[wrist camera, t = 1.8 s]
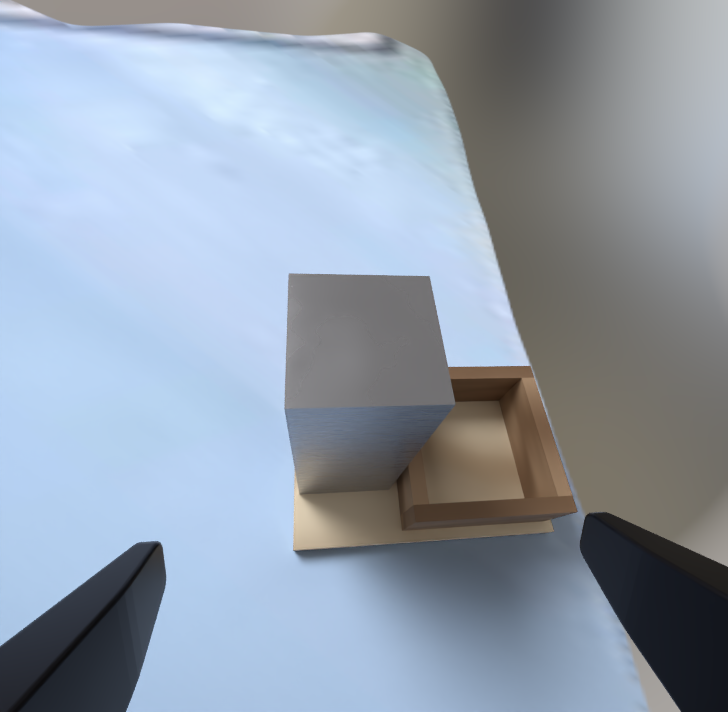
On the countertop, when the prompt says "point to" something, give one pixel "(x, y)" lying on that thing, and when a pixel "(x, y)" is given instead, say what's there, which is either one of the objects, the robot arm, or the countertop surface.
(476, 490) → the stand
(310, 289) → the post
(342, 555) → the countertop surface
